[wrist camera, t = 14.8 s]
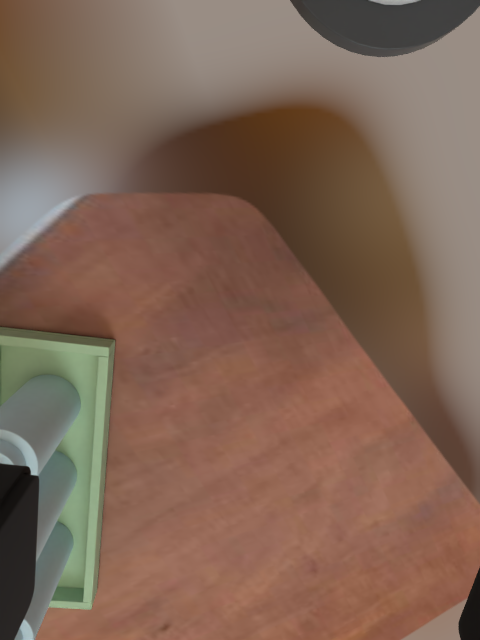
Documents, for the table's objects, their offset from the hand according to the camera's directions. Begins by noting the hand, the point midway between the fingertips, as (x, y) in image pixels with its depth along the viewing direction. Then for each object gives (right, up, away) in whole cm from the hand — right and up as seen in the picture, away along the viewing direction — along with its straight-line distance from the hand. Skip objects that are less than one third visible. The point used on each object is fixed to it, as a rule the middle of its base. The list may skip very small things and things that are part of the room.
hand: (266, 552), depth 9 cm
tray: (-17, -9, +29) cm, 35 cm away
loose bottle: (-16, -2, +27) cm, 32 cm away
